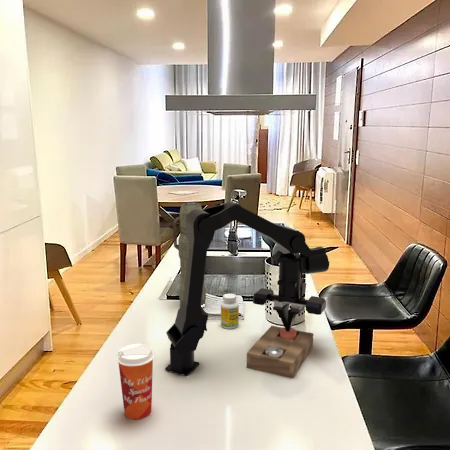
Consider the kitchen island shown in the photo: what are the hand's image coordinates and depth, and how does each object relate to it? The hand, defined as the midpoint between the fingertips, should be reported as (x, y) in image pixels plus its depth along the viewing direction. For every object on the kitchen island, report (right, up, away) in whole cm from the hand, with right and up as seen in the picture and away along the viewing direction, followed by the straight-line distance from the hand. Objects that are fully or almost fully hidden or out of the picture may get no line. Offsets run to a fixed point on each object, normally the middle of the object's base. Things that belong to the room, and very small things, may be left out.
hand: (288, 330), depth 128 cm
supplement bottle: (-16, -2, +16) cm, 22 cm away
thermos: (-28, +1, +31) cm, 42 cm away
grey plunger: (-5, -6, -9) cm, 12 cm away
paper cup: (-36, -11, -27) cm, 46 cm away
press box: (-2, -6, -4) cm, 8 cm away
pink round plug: (0, -3, +1) cm, 3 cm away
